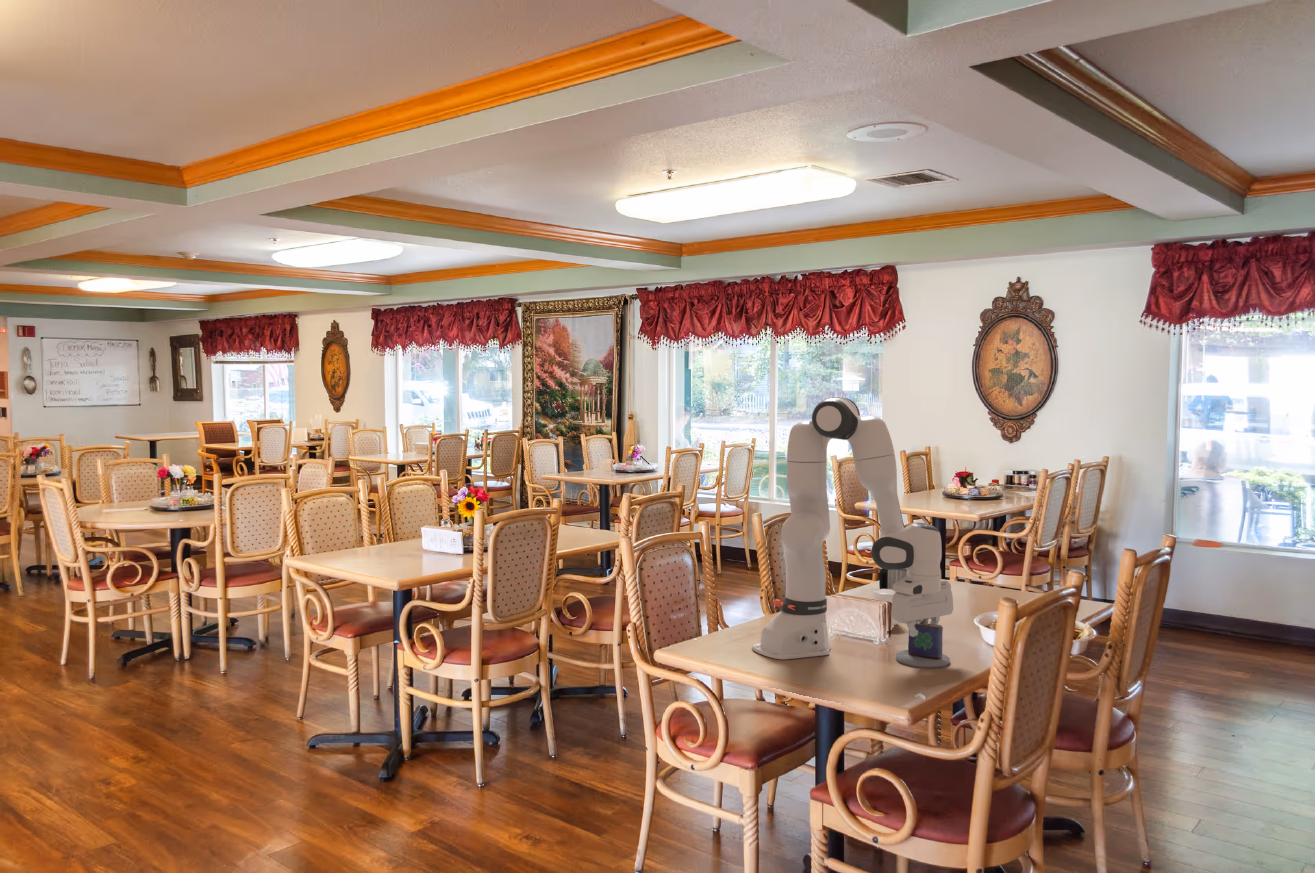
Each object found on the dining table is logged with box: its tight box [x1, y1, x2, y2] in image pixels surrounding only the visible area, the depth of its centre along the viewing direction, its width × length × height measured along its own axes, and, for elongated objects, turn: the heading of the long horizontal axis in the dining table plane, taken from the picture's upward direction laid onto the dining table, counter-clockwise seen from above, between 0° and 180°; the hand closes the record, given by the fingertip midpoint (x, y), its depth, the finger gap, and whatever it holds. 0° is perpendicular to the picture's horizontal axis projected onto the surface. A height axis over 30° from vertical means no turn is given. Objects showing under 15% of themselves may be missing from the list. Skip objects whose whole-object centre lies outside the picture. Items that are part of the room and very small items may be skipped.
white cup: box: [873, 588, 898, 626], centre depth 288 cm, size 8×8×10 cm
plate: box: [895, 649, 951, 669], centre depth 248 cm, size 14×14×1 cm
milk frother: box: [878, 568, 907, 590], centre depth 304 cm, size 14×16×15 cm
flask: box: [907, 618, 944, 660], centre depth 248 cm, size 9×3×11 cm, turn 54°
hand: (922, 634), depth 248 cm, fingers open, 5 cm apart
